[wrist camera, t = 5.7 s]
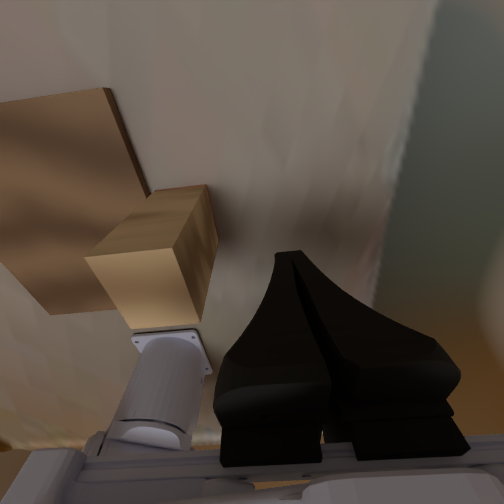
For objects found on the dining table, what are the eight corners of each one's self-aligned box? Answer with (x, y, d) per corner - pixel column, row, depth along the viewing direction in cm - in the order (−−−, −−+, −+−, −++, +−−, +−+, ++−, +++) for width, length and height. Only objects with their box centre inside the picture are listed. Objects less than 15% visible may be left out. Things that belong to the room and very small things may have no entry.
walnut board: (189, 297, 24) (187, 302, 23) (55, 309, 24) (50, 315, 24) (109, 88, 14) (102, 87, 13) (-111, 121, 15) (-128, 121, 14)
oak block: (218, 240, 20) (200, 323, 12) (175, 244, 20) (131, 329, 13) (205, 184, 17) (172, 247, 10) (155, 190, 17) (83, 257, 10)
